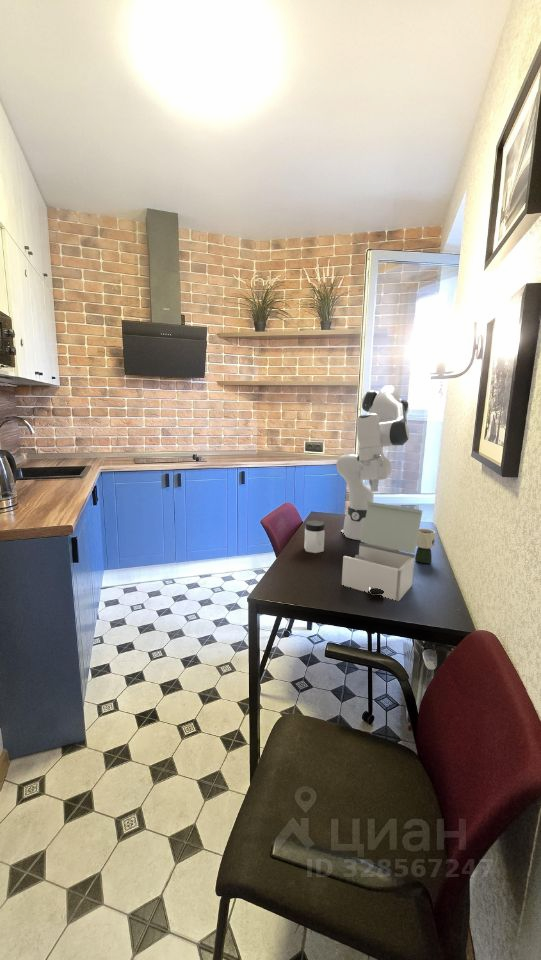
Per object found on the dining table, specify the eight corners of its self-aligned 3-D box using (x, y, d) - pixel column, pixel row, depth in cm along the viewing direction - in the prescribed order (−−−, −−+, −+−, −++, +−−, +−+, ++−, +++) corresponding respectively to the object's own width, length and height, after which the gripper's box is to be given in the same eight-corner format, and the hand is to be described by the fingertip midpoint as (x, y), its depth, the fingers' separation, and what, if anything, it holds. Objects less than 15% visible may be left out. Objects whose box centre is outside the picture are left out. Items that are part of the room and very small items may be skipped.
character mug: (434, 567, 161) (437, 536, 158) (415, 566, 162) (418, 534, 160) (430, 557, 171) (433, 527, 169) (412, 556, 172) (414, 526, 170)
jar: (311, 554, 172) (312, 527, 170) (299, 548, 179) (300, 522, 177) (328, 550, 177) (329, 523, 175) (315, 545, 184) (317, 519, 182)
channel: (358, 571, 156) (360, 542, 154) (412, 585, 145) (415, 554, 143) (341, 584, 144) (343, 553, 142) (398, 601, 133) (401, 567, 130)
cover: (359, 541, 152) (361, 542, 154) (412, 553, 141) (414, 553, 143) (367, 501, 154) (369, 502, 156) (420, 510, 143) (422, 511, 144)
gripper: (389, 452, 148) (393, 491, 148) (370, 456, 168) (373, 490, 168) (372, 454, 147) (376, 493, 147) (355, 457, 168) (358, 491, 168)
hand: (374, 491), depth 158 cm, fingers closed
